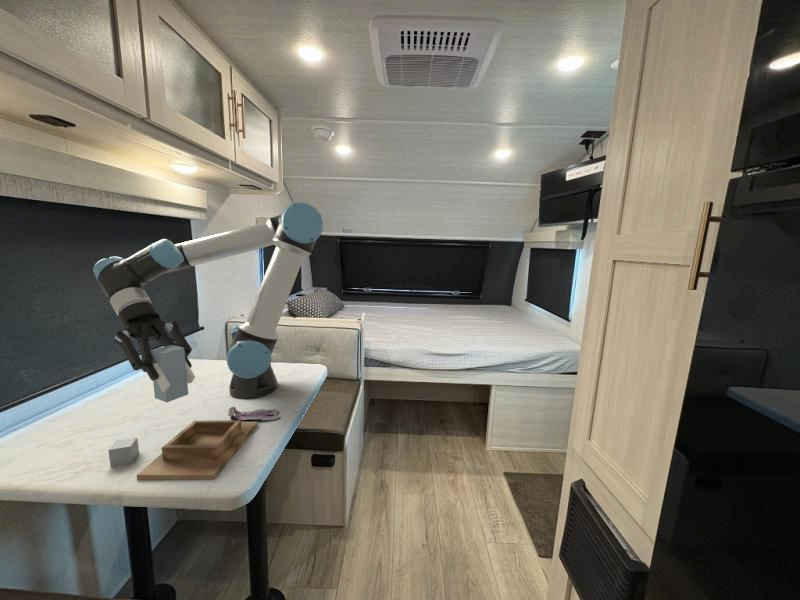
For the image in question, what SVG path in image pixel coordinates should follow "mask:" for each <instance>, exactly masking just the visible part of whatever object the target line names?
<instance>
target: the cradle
mask: <svg viewBox="0 0 800 600" xmlns="http://www.w3.org/2000/svg"><path fill="white" fill-rule="evenodd" d="M258 425H259V424H258V421H242V420H234V421H231V420H193V421H192V422H191V423H189V424H188V425H187V426H185V428H184V429H181V431H180V432H179V433H177V434H176V435H175V436H173V438H171V439H170V440H169V441H168V442H166V443H165V444H164V445H163V446H162V447H161V453H160V454H159V455H158V456H157V457H156V458H155V459H153V460H152V461H151V462H150V463H149V464H147V465H146V467H144V468H143V469H142V470H140V471H139V472H138V473H137V475H136V480H215V479H216V478H217V477H218V476H219V474H220V473H221V471H222V470H223V469H224V468H225V466H226V465H227V464H228V462H229V461H231V458H233V457H234V456H235V454H236V453H237V451H238V450H239V449H240V448H241V447H242V445H243V444H244V443H245V442H246V440H247V439H248V438H249V436H250V435H251V434H252V433H253V431H254V430H255V429H256V428H257V427H258Z"/></svg>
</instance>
